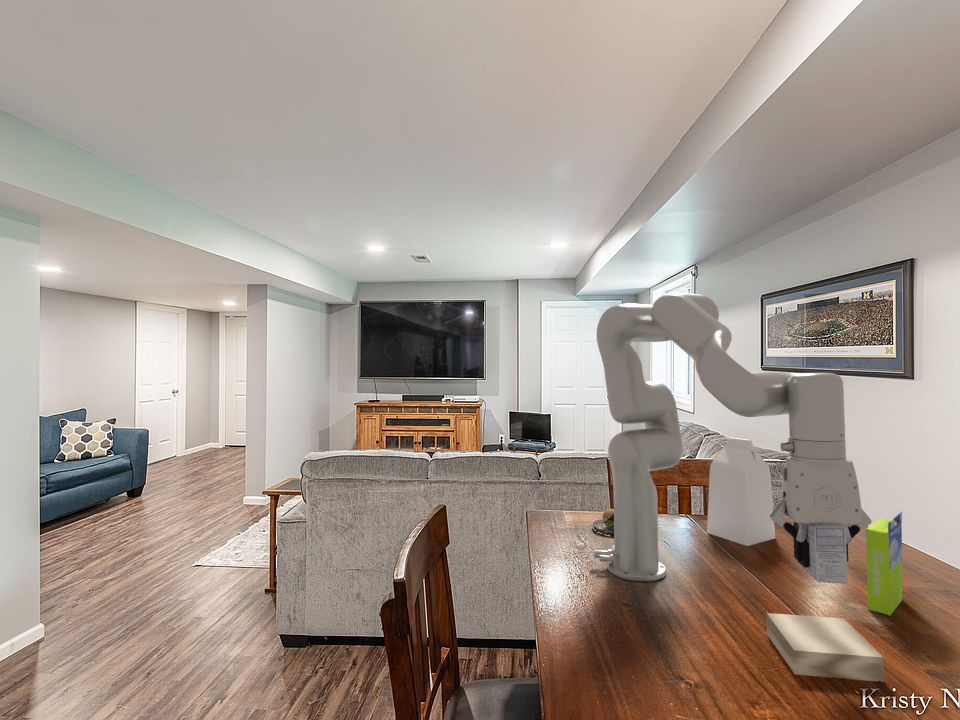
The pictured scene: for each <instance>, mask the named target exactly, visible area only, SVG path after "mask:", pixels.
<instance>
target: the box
mask: <svg viewBox="0 0 960 720" xmlns="http://www.w3.org/2000/svg"><path fill="white" fill-rule="evenodd" d="M902 520H903V512H902V511H900V512H899V513H898V514H897V515H896V516H894V517H893V518H892V519H888V518H887V519H886V518H879V519H877V520H876V521H874V522H873V523H871V524H870V525H868V526H867V527H866V529H865V538H866V539H865V543H866V570H867V571H866V575H867V577H866V578H867V579H866V581H867V587H866V588H867V610H868V611H871V612H874V613H878V614H882V615H885V616H890V617H891V616H892V615H893V613H894V612H895V610H896V609H897V608H898V607H899V605H900V603H901V602H902V600H903V535H902V534H903V533H902V527H903V526H902V524H903V521H902Z"/></svg>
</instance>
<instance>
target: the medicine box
mask: <svg viewBox="0 0 960 720" xmlns="http://www.w3.org/2000/svg"><path fill="white" fill-rule="evenodd" d="M805 538H806V541H807V542H808V543H809V559H810V567H808V568H804V567H803V566H802V565H801V564H800V563H799V562H798V561H797V560H796V561H797V564H798V565H799V566H800V568H802V569H803V570H804V571H805V572H806V573H808V575H810V576H811V577H812V578H813V579H814V580H815V581H816V582H819V583H824V584H825V583H828V584H848V583H849V577H848V576H849V575H848V562H847V551H846V532H845V527H844V526H842V525H840V524H812V525H808V528H807V533H806V537H805Z"/></svg>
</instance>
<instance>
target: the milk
mask: <svg viewBox="0 0 960 720" xmlns="http://www.w3.org/2000/svg"><path fill="white" fill-rule="evenodd" d="M755 449H756V448H755V447H754V445H753V443H752V440H751V439H747V438H738V437H731V436H730V437H727V439H726V442H725V444H724V446H723V448H722V449H721V451H720V452H719V453H718V454H717V455H716V457H715V458H714V459H713V461H711V464H710V465H709V483H708V484H709V485H708V500H707V501H708V505H707V527H706V530H707V531H706V533H707V534H709V535H711V536H715V537H719V538H722V539H724V540H728V541H730V542H734V543H737V544H740V545H742V546H746V547H749V546H752V545H756V544H759V543H763V542H767V541H771V540H774V539H775V540H776V530H775V522H774V521H773V520H771V519H770V515H771V513H772V512H773V511H774V504H773V501H774V500H773V491H772V489H773V488H772V477H771V476H772V475H771V469H770V466H769V464H768V463H767V462H766V461H765V460H764V459H763V458H762V457H761V456H760V454H759V453H758V452H757V451H755Z"/></svg>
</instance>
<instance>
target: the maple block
mask: <svg viewBox="0 0 960 720" xmlns="http://www.w3.org/2000/svg"><path fill="white" fill-rule="evenodd" d="M766 635H767V637H768V638H769V639H770V641H771V642H772V644H773V645H774V646H775V648H776V649H777V651H778V652H779V654H780V655H781V657H782V659H783V660H784V661H785V663H786V664H787V665H788V667H789V668H790V670H791V671H792V673H793V674H794V675H796V676H797V675H799V676H809V677H811V676H812V677H820V678H833V677H836V679H843V678H845V679H846V680H855V681H870V682H878V681H881V683H884V682H885V657H884V656H883V655H882V654H881V653H880V652H879V651H878V649H876V648H875V647H874V646H873V645H872V644H871V643H870V642H869V641H868V640H866V638H865V637H864V636H862V635H861V633H859V632H858V631H857V629H856V628H854V627H853V626H852V625H851V624H850V623H849V622H848V621H847V620H846V619H845V618H844V617H843V618H842V617H829V616H814V615H803V614H802V615H799V614H785V613H784V614H783V613H773V612H772V613H771V612H766ZM845 679H844V680H845Z"/></svg>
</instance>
